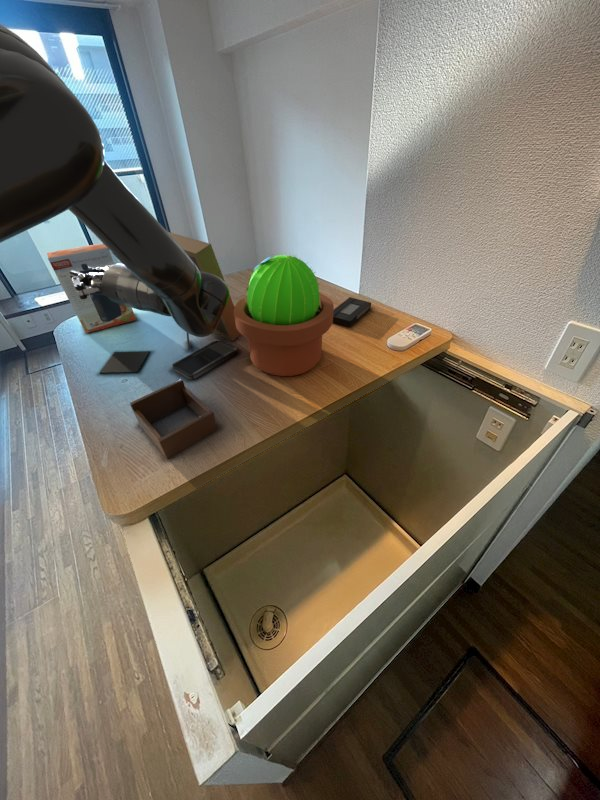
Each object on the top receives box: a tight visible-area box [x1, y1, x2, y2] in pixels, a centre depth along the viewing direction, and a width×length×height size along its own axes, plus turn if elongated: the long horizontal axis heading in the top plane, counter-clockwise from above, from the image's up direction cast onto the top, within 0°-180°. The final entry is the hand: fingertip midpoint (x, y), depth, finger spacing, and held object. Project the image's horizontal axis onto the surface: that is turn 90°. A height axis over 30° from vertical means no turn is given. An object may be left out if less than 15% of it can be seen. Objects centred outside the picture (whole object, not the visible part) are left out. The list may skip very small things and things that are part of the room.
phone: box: [172, 339, 238, 380], centre depth 81 cm, size 8×1×15 cm
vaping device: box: [79, 264, 122, 322], centre depth 70 cm, size 3×5×12 cm, turn 160°
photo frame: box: [167, 231, 242, 351], centre depth 83 cm, size 15×22×25 cm
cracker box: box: [46, 242, 137, 334], centre depth 90 cm, size 14×6×21 cm, turn 123°
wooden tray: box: [129, 378, 218, 459], centre depth 62 cm, size 12×11×6 cm
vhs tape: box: [332, 297, 372, 328], centre depth 98 cm, size 8×14×2 cm, turn 146°
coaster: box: [99, 350, 151, 375], centre depth 81 cm, size 9×9×1 cm
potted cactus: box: [234, 252, 335, 377], centre depth 74 cm, size 22×22×25 cm
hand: (79, 273), depth 68 cm, fingers closed on vaping device, 2 cm apart
